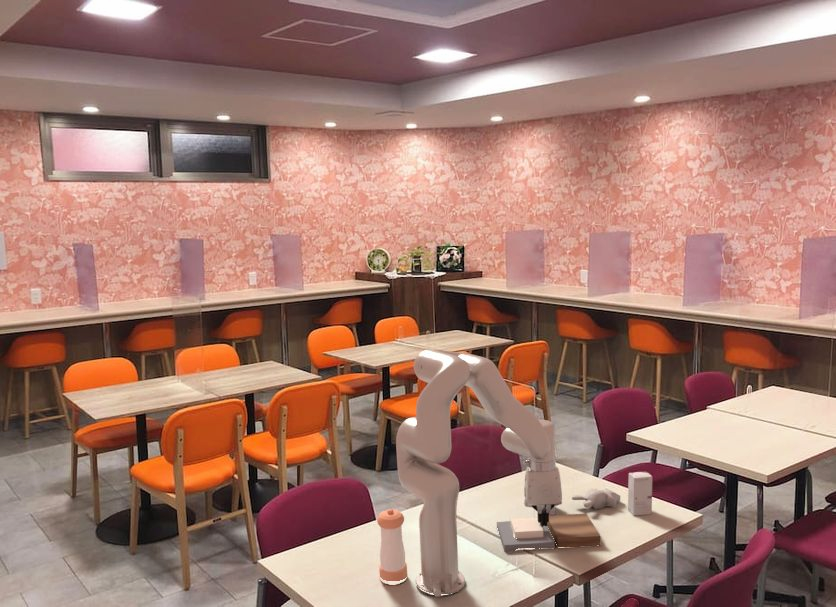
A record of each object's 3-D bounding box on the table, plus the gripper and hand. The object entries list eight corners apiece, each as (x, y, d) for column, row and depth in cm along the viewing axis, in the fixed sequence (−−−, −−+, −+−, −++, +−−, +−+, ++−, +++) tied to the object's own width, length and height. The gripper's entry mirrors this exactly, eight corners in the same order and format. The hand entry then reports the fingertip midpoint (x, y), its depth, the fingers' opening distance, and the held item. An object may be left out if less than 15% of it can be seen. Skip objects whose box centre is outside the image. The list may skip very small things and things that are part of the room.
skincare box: (633, 516, 216) (633, 478, 215) (627, 509, 221) (627, 472, 219) (652, 514, 217) (653, 476, 215) (646, 507, 222) (646, 470, 220)
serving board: (600, 545, 200) (600, 535, 199) (557, 548, 199) (557, 538, 199) (586, 522, 213) (586, 513, 213) (546, 525, 213) (546, 515, 212)
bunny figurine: (627, 494, 223) (589, 499, 216) (625, 509, 223) (587, 515, 217) (606, 483, 231) (569, 488, 225) (605, 498, 232) (568, 504, 225)
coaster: (543, 537, 202) (543, 530, 202) (515, 538, 202) (515, 532, 201) (537, 524, 210) (537, 517, 209) (510, 525, 210) (510, 519, 209)
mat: (554, 548, 199) (554, 542, 199) (504, 551, 199) (504, 545, 198) (543, 525, 213) (543, 519, 213) (496, 528, 212) (496, 522, 212)
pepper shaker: (392, 568, 193) (388, 501, 190) (413, 576, 188) (409, 507, 185) (374, 579, 187) (370, 511, 184) (395, 588, 182) (391, 518, 179)
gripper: (518, 470, 199) (519, 532, 202) (571, 467, 199) (572, 528, 202) (513, 460, 206) (515, 520, 209) (564, 457, 206) (565, 516, 209)
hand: (543, 524), depth 205 cm, fingers closed
